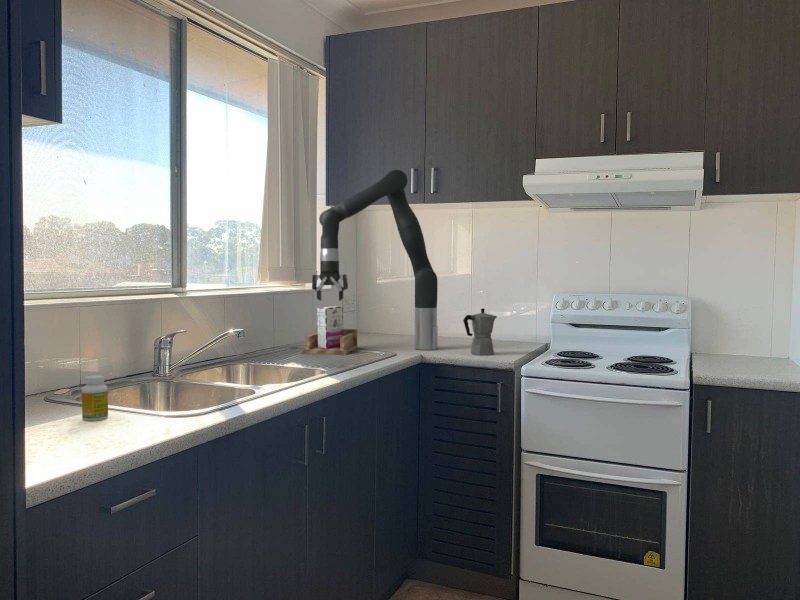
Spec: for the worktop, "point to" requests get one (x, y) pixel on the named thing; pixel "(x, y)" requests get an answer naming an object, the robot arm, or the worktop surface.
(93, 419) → the supplement bottle
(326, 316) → the candy bar box
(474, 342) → the coffeepot
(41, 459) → the worktop surface
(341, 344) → the walnut rack
